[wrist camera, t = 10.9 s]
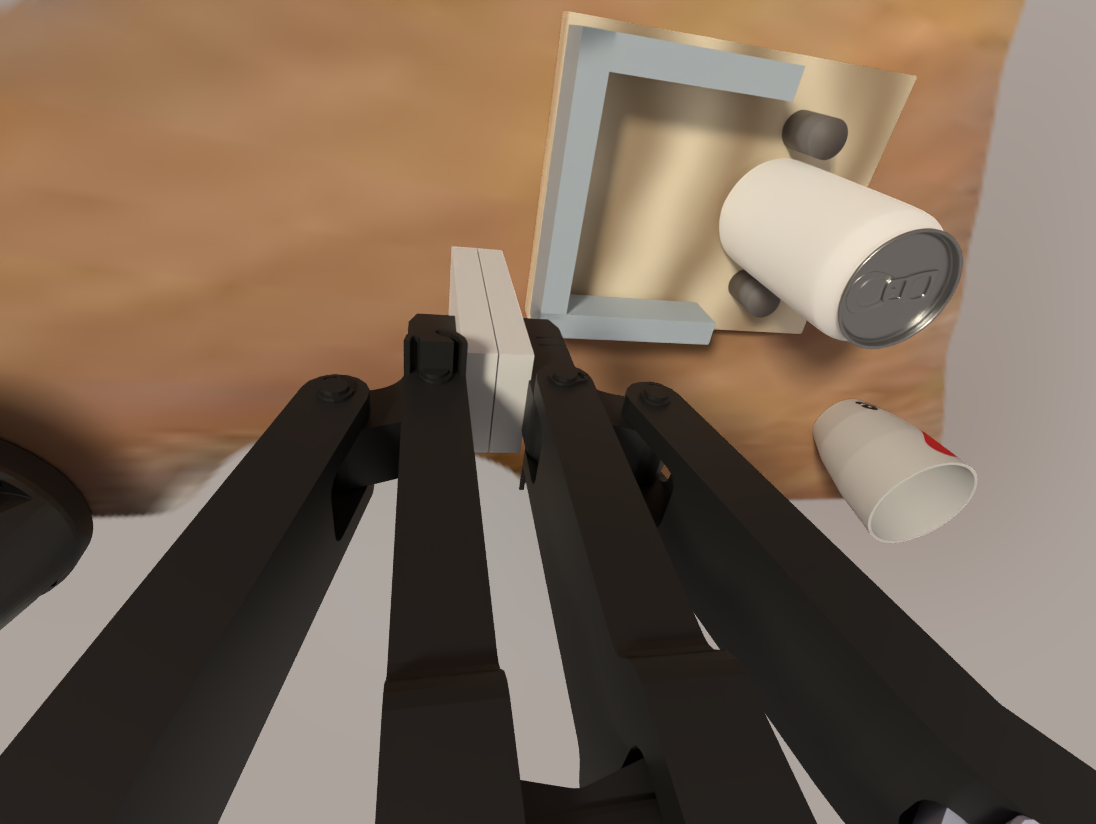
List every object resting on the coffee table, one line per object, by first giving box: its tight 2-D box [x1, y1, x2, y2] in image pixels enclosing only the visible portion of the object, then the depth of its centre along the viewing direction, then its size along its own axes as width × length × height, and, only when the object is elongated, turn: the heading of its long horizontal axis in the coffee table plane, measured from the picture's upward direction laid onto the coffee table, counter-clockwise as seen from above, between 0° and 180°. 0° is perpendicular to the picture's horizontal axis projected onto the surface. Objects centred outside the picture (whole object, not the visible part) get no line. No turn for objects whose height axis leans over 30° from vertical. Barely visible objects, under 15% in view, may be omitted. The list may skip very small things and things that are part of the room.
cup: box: [813, 399, 977, 543], centre depth 44 cm, size 8×8×10 cm
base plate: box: [525, 11, 917, 334], centre depth 32 cm, size 20×16×4 cm
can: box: [719, 158, 963, 349], centre depth 29 cm, size 6×6×12 cm
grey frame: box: [530, 24, 805, 345], centre depth 30 cm, size 11×15×3 cm
